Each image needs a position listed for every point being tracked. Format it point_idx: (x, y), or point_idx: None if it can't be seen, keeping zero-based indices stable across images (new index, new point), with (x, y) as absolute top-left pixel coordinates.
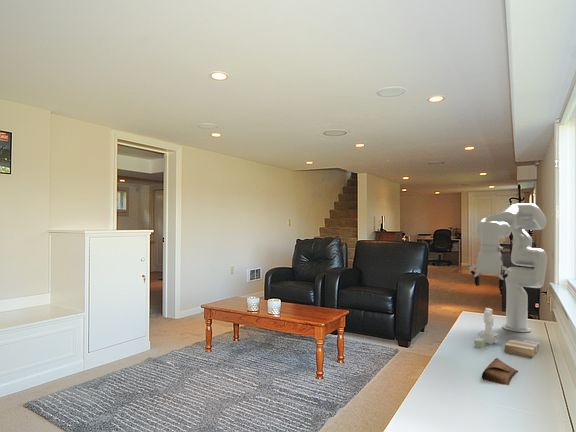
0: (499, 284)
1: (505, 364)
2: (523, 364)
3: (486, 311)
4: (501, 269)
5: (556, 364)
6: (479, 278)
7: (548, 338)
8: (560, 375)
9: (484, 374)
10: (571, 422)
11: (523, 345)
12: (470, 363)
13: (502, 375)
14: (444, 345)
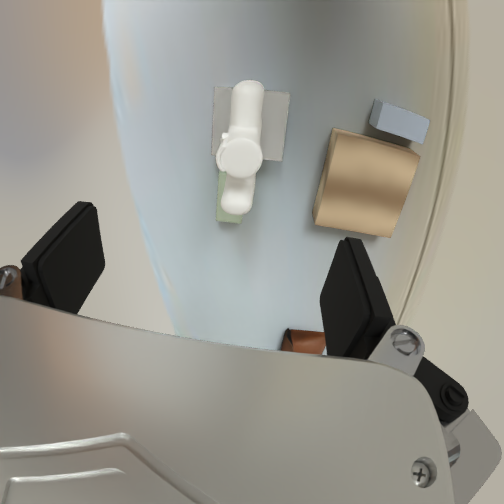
0: (328, 330)
1: (308, 349)
2: None
3: (234, 213)
4: (434, 456)
5: (425, 249)
6: (51, 252)
7: None
8: (405, 312)
9: None
10: None
11: (373, 200)
12: (241, 336)
13: None
14: (147, 249)
